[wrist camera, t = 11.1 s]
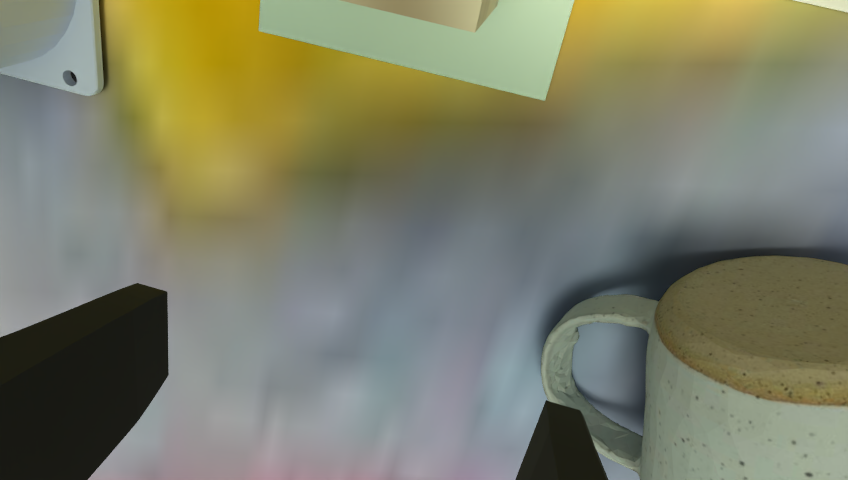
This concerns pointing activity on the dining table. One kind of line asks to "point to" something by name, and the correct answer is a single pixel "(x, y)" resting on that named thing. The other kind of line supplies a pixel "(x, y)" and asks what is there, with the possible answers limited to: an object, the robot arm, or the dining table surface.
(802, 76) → the dining table surface
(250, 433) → the dining table surface
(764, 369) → the ceramic mug
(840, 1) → the code tile
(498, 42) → the coaster
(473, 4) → the birch block
